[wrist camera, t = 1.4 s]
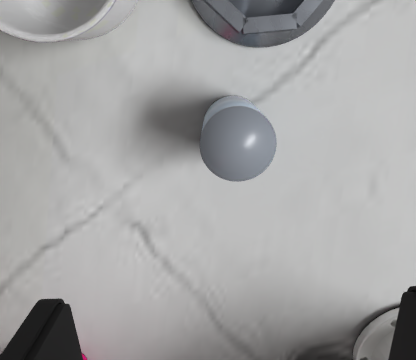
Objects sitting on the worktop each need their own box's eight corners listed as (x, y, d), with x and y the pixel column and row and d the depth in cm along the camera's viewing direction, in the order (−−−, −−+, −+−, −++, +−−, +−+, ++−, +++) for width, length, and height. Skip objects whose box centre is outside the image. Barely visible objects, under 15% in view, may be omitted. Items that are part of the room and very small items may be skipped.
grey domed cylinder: (261, 93, 27) (275, 103, 20) (262, 151, 29) (276, 178, 22) (200, 98, 27) (196, 109, 21) (205, 156, 29) (203, 183, 22)
